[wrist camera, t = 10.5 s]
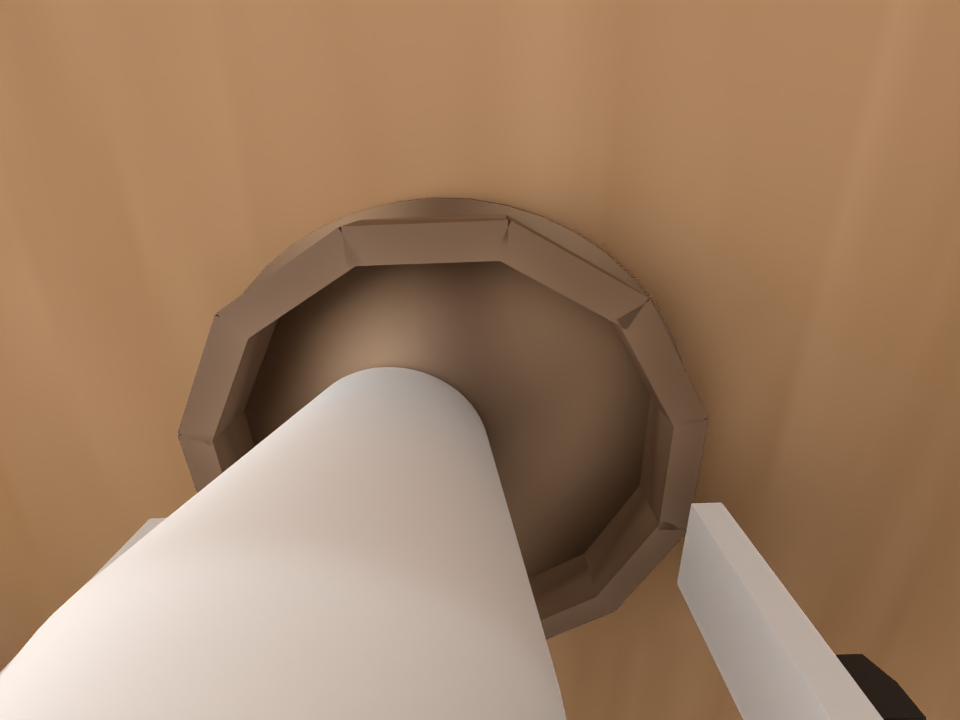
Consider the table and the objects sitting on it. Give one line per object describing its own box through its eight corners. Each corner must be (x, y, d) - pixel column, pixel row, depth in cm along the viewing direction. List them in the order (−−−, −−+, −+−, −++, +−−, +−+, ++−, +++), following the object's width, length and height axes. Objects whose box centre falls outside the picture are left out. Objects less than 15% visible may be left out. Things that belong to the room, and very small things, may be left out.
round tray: (274, 604, 20) (244, 667, 17) (157, 208, 14) (81, 215, 11) (652, 594, 20) (677, 657, 17) (714, 187, 13) (770, 189, 11)
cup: (267, 310, 14) (-545, 812, 3) (546, 353, 15) (758, 916, 3) (271, 529, 17) (-97, 1150, 6) (498, 558, 18) (526, 1176, 7)
